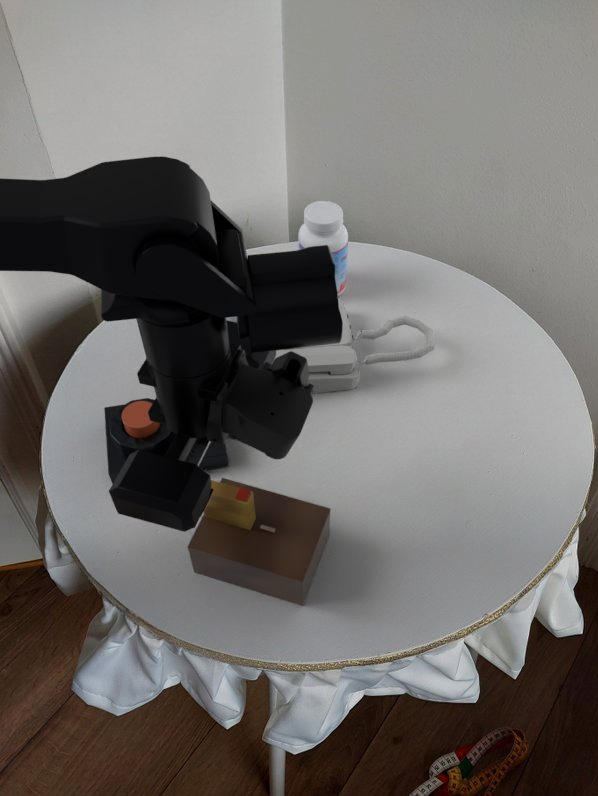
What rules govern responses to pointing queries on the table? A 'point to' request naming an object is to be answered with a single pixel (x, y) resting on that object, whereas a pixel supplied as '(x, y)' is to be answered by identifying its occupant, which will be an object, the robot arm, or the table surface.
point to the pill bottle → (326, 235)
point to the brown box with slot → (265, 546)
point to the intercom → (352, 354)
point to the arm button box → (148, 443)
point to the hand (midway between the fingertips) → (212, 477)
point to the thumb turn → (231, 505)
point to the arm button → (139, 420)
